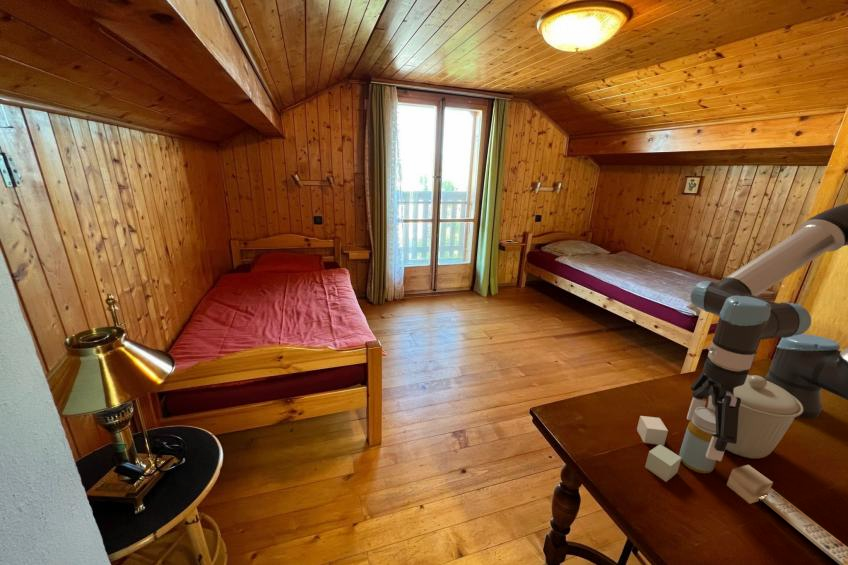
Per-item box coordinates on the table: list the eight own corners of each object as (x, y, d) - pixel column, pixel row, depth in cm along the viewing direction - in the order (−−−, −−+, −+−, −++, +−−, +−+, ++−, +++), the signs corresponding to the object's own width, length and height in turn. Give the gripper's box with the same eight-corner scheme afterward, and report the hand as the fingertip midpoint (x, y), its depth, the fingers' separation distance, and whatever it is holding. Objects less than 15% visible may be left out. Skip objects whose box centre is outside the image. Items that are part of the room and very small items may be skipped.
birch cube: (742, 480, 84) (748, 464, 83) (765, 498, 80) (772, 482, 78) (726, 485, 83) (732, 469, 81) (749, 504, 78) (756, 487, 77)
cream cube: (655, 432, 99) (659, 417, 98) (663, 445, 95) (668, 430, 93) (636, 430, 100) (640, 415, 99) (643, 443, 96) (647, 428, 94)
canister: (707, 458, 90) (730, 390, 84) (685, 414, 106) (703, 353, 100) (797, 479, 84) (830, 407, 78) (759, 428, 101) (783, 365, 94)
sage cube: (655, 459, 90) (660, 444, 89) (676, 473, 86) (681, 457, 85) (644, 467, 88) (649, 451, 86) (665, 482, 84) (670, 466, 82)
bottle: (718, 477, 85) (736, 427, 80) (686, 472, 86) (702, 423, 81) (703, 455, 91) (718, 407, 87) (673, 450, 93) (687, 404, 88)
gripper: (689, 336, 92) (670, 403, 98) (731, 390, 69) (702, 472, 76) (724, 341, 89) (702, 410, 96) (779, 399, 67) (745, 483, 74)
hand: (702, 438), depth 86 cm, fingers open, 13 cm apart
